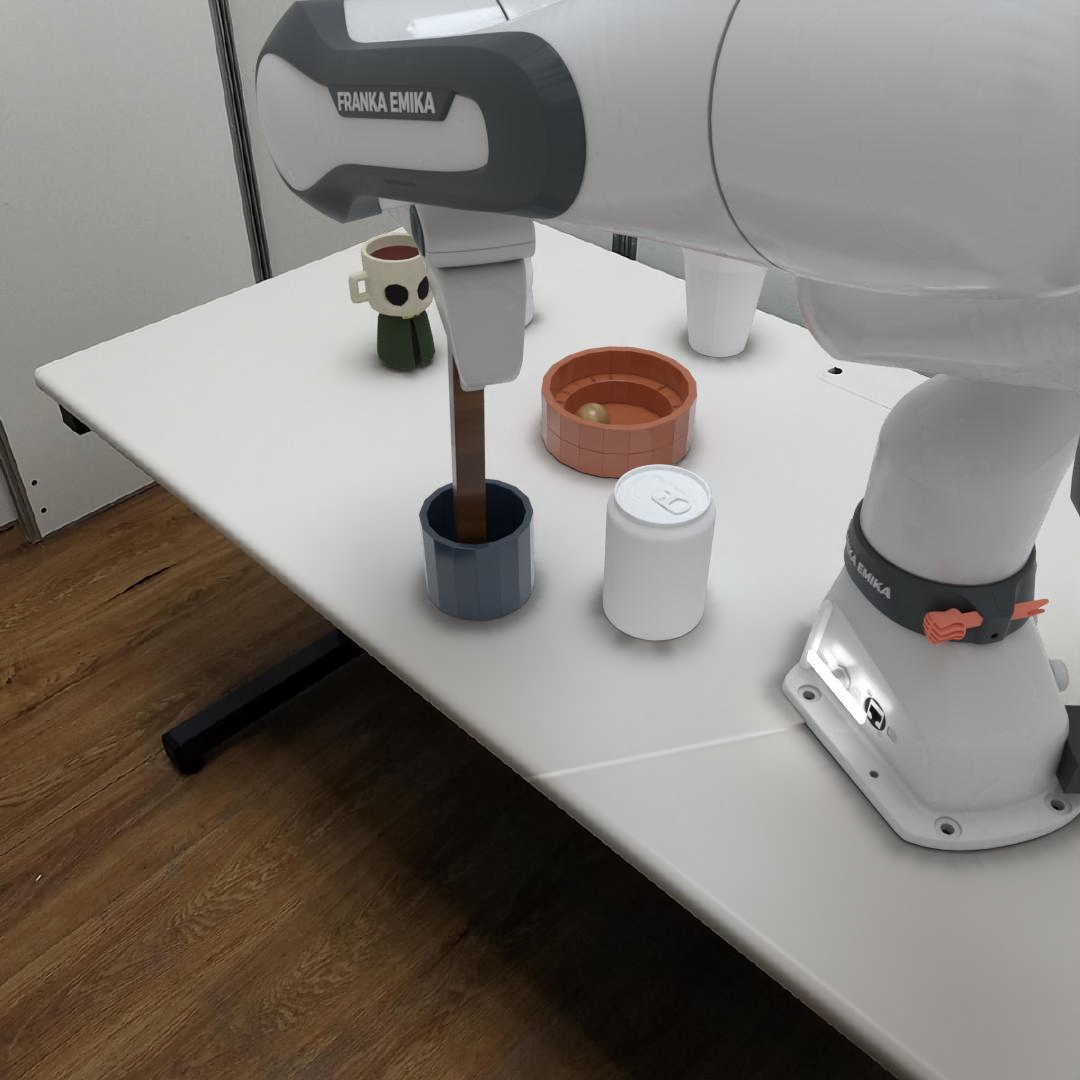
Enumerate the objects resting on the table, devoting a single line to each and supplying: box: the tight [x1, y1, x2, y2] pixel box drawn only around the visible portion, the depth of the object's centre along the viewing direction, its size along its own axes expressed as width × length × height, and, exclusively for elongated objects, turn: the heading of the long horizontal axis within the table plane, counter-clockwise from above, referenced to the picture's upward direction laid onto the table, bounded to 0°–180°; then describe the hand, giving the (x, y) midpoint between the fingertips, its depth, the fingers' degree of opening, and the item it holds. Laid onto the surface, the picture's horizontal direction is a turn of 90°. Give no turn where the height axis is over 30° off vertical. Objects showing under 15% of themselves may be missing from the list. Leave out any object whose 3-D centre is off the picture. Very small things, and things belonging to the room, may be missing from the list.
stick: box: [446, 338, 486, 545], centre depth 79 cm, size 2×2×20 cm
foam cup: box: [681, 247, 769, 358], centre depth 114 cm, size 10×9×13 cm
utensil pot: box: [418, 478, 536, 622], centre depth 86 cm, size 9×9×8 cm
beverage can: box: [602, 464, 717, 641], centre depth 82 cm, size 8×8×12 cm
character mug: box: [348, 231, 436, 370], centre depth 112 cm, size 11×7×13 cm, turn 120°
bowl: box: [540, 345, 698, 479], centre depth 103 cm, size 15×15×6 cm
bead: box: [575, 403, 611, 424], centre depth 102 cm, size 4×4×4 cm
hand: (467, 372), depth 75 cm, fingers closed on stick, 2 cm apart
